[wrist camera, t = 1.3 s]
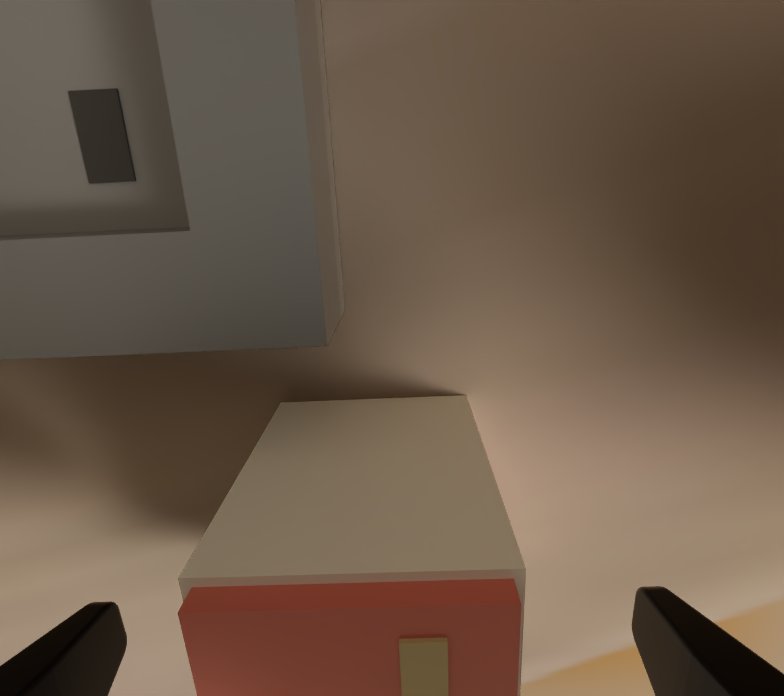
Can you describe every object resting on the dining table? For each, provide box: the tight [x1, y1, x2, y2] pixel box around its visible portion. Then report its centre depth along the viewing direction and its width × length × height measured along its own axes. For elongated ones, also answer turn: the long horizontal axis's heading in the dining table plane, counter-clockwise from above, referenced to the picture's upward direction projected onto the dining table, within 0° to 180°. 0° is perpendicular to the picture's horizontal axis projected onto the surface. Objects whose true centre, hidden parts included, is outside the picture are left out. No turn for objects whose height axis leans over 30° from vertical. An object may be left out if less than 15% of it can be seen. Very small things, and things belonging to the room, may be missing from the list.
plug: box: [178, 395, 526, 696], centre depth 9 cm, size 4×4×6 cm
